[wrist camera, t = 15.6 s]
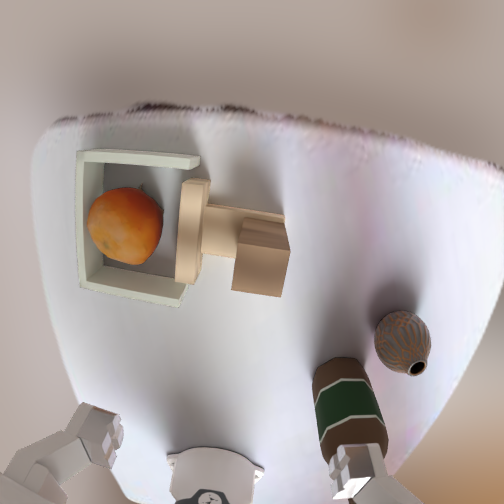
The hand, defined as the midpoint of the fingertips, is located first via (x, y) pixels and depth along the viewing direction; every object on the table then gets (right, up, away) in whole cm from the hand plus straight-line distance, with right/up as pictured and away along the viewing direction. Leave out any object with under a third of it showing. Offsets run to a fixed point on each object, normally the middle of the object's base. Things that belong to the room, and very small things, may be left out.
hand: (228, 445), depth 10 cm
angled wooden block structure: (-1, +9, +24) cm, 25 cm away
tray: (-11, +10, +23) cm, 28 cm away
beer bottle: (+13, -10, +30) cm, 34 cm away
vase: (+19, -3, +27) cm, 33 cm away
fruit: (-12, +11, +24) cm, 28 cm away
